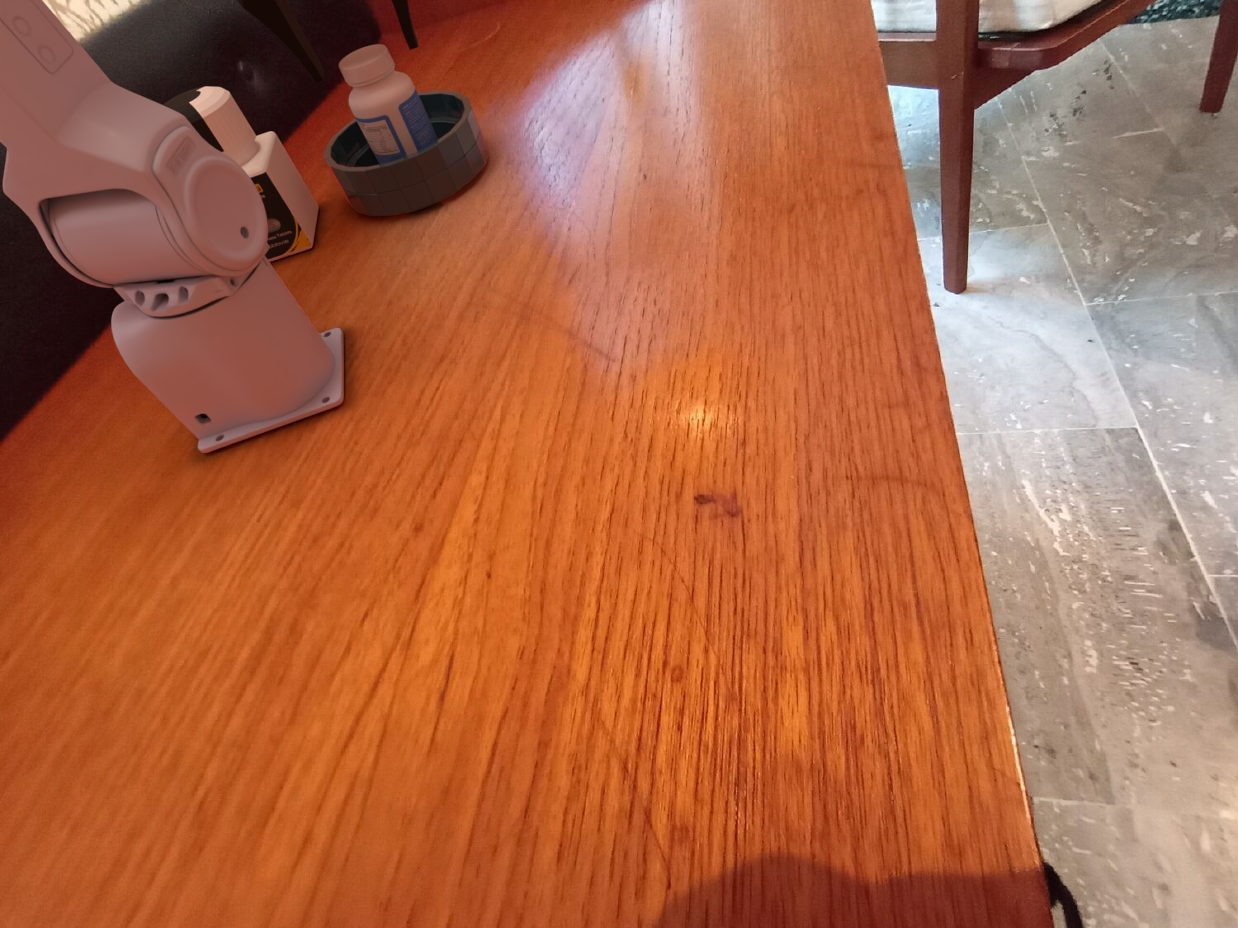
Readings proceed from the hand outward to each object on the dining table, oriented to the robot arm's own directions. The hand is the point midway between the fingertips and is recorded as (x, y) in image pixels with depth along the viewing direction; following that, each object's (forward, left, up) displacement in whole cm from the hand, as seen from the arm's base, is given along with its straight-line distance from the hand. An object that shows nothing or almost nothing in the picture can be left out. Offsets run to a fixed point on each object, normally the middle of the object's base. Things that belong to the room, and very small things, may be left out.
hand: (366, 61), depth 56 cm
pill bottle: (0, 0, -10) cm, 10 cm away
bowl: (0, 0, -10) cm, 10 cm away
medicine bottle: (-13, -2, -10) cm, 17 cm away
